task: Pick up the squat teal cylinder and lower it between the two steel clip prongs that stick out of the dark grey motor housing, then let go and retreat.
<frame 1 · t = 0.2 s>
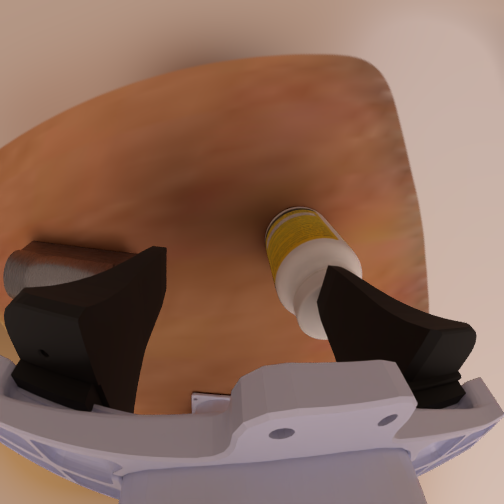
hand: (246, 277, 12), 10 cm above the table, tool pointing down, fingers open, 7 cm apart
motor: (80, 261, 22), on the table
supplement bottle: (296, 236, 22), on the table
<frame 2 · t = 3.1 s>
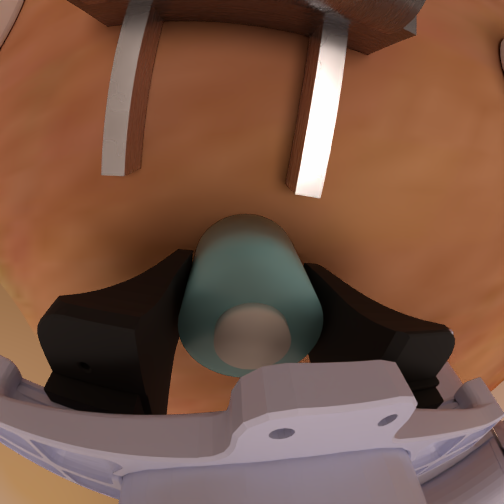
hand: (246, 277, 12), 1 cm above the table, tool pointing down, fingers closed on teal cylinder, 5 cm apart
eye dropper bottle: (5, 21, 6), on the table
teal cylinder: (245, 262, 13), on the table, touching gripper
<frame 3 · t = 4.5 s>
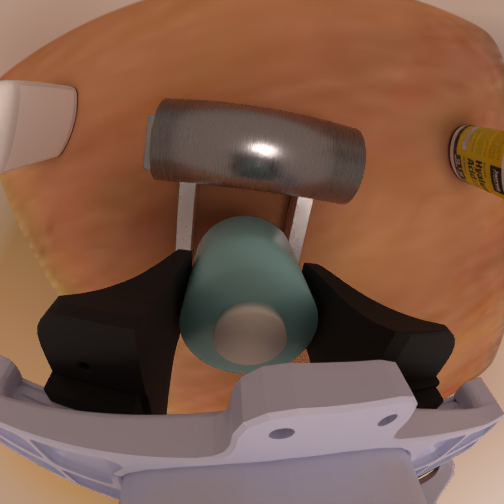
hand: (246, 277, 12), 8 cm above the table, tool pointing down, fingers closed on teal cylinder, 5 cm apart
eye dropper bottle: (60, 120, 15), on the table
teal cylinder: (244, 262, 14), point 6 cm above the table, touching gripper
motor: (251, 147, 17), on the table
supplement bottle: (464, 153, 18), on the table
when the fingers open (3 cm above the table, at t = 6.2 s): teal cylinder drops 2 cm, on the table.
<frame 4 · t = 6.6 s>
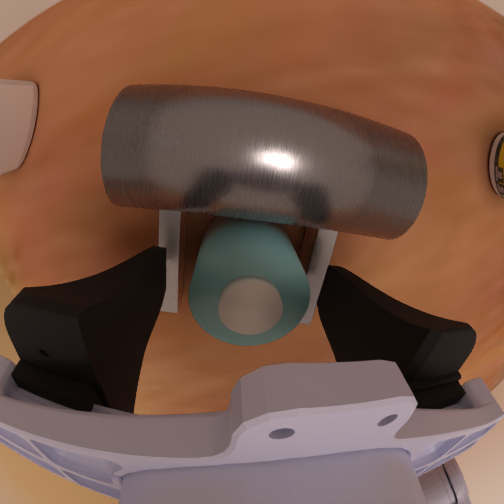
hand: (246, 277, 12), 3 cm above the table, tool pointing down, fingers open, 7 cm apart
eye dropper bottle: (21, 124, 11), on the table
teal cylinder: (245, 248, 15), on the table
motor: (258, 153, 13), on the table
supplement bottle: (502, 164, 14), on the table
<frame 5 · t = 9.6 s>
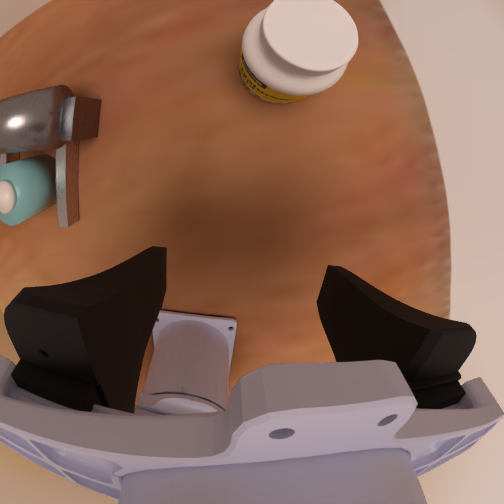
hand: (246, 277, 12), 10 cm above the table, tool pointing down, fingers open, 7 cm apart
teal cylinder: (43, 181, 18), on the table
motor: (43, 123, 16), on the table
supplement bottle: (276, 72, 17), on the table
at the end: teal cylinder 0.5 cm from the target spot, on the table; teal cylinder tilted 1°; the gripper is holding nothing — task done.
